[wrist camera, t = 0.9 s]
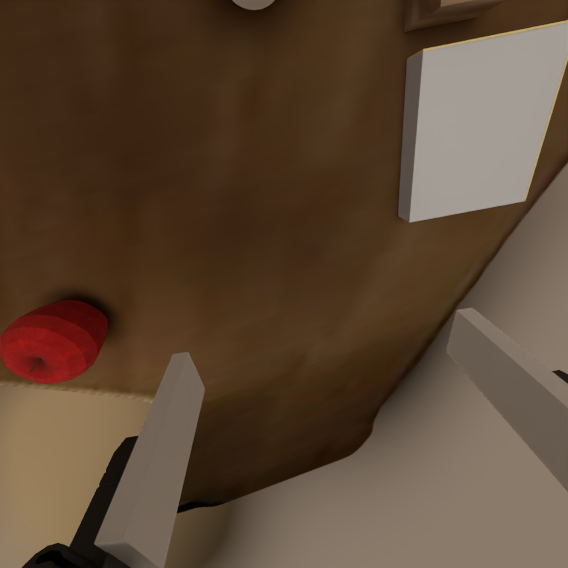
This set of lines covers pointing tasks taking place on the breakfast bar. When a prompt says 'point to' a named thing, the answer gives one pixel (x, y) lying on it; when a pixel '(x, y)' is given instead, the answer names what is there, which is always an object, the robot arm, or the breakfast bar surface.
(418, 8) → the block
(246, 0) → the cup
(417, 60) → the dock
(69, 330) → the apple
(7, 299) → the breakfast bar surface
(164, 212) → the breakfast bar surface
